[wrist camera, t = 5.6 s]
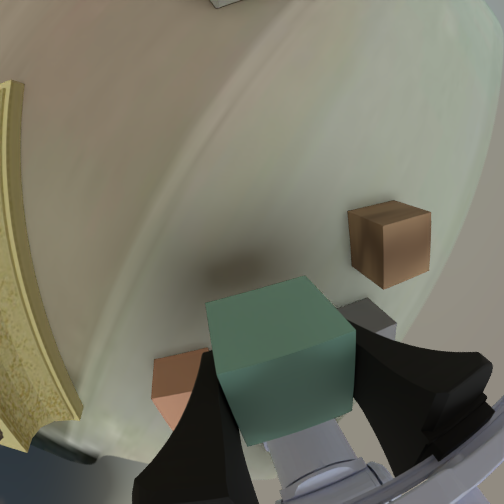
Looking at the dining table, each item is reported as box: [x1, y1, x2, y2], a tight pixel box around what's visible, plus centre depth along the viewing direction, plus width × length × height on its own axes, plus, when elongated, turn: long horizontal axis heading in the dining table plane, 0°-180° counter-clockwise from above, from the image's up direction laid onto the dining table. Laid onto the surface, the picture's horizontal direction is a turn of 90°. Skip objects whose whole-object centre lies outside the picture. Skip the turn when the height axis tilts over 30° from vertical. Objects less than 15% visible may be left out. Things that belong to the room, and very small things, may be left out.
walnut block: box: [348, 200, 431, 290], centre depth 19 cm, size 4×4×4 cm
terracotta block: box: [151, 348, 209, 431], centre depth 20 cm, size 4×4×4 cm
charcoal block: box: [337, 298, 397, 341], centre depth 22 cm, size 4×4×4 cm
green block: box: [205, 276, 356, 447], centre depth 11 cm, size 4×4×4 cm
